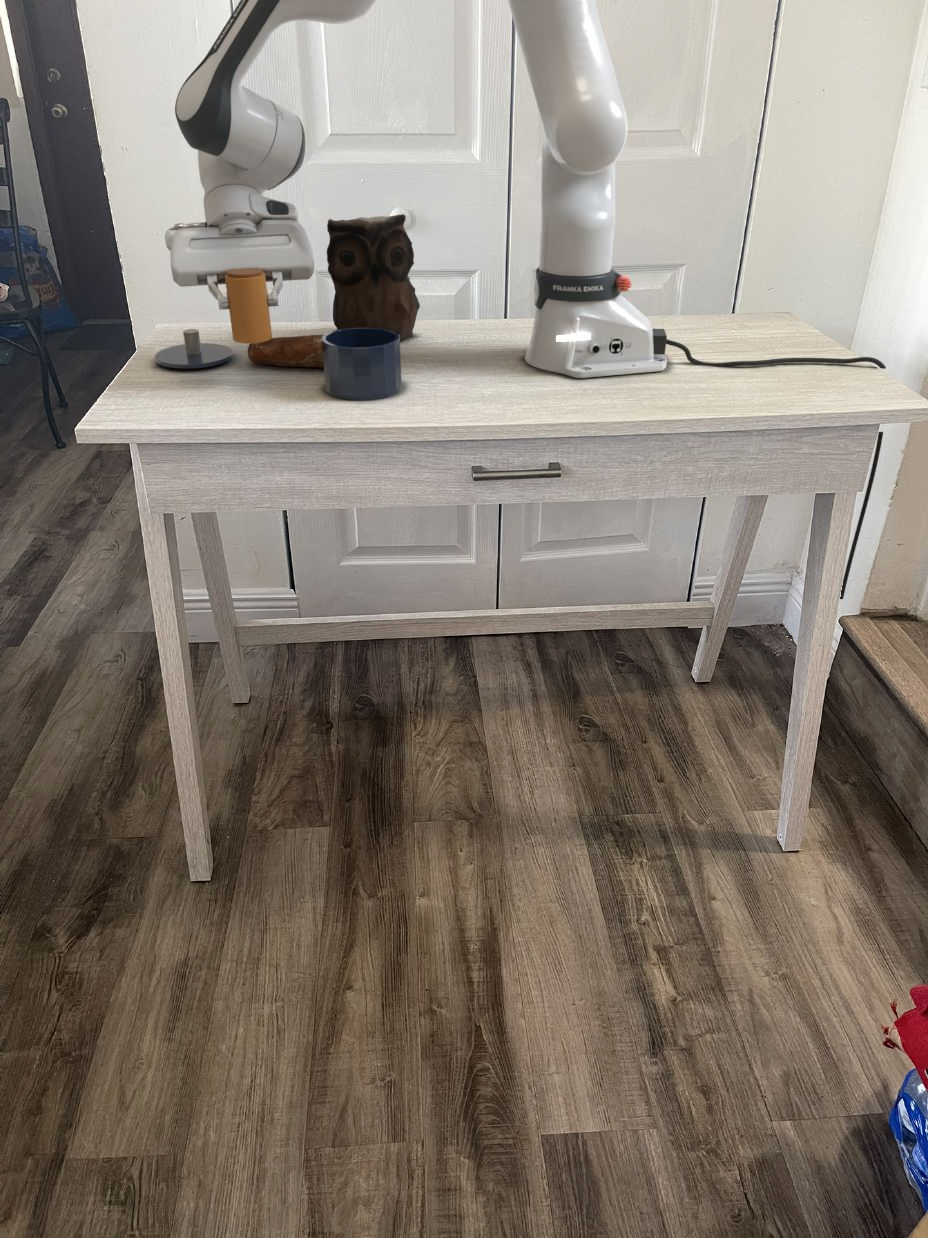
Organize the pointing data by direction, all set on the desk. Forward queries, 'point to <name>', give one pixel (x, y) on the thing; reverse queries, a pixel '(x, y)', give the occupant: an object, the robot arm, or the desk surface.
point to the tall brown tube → (248, 305)
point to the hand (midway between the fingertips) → (249, 305)
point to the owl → (372, 274)
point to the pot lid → (193, 353)
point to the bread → (288, 351)
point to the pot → (362, 363)
